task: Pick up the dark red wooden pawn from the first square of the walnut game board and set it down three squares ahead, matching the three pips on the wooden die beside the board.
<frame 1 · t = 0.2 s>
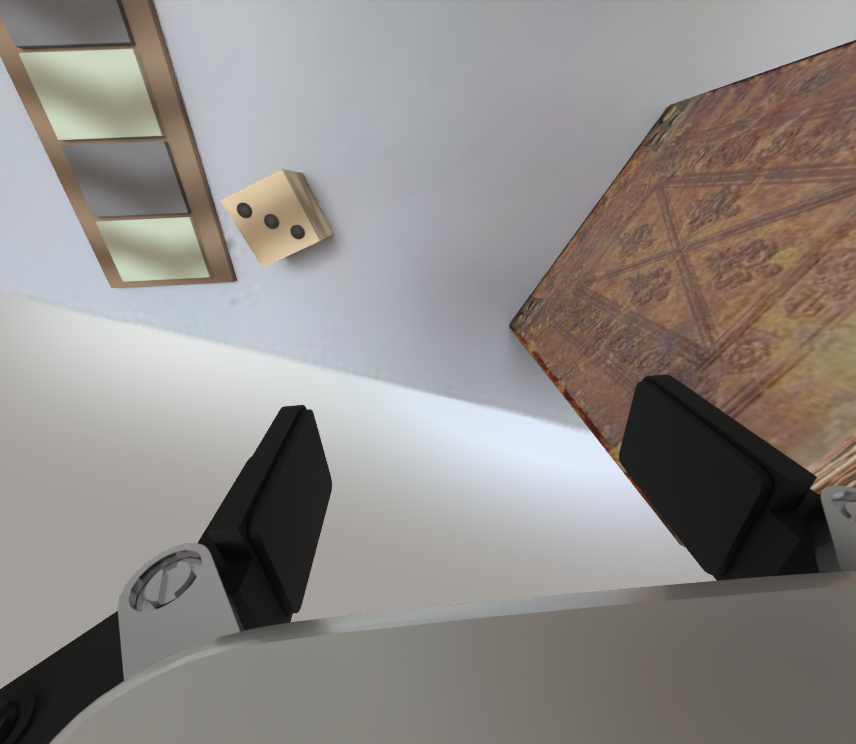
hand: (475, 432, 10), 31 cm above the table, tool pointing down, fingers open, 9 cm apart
book: (606, 251, 38), on the table
die: (292, 217, 35), on the table
board: (106, 100, 30), on the table
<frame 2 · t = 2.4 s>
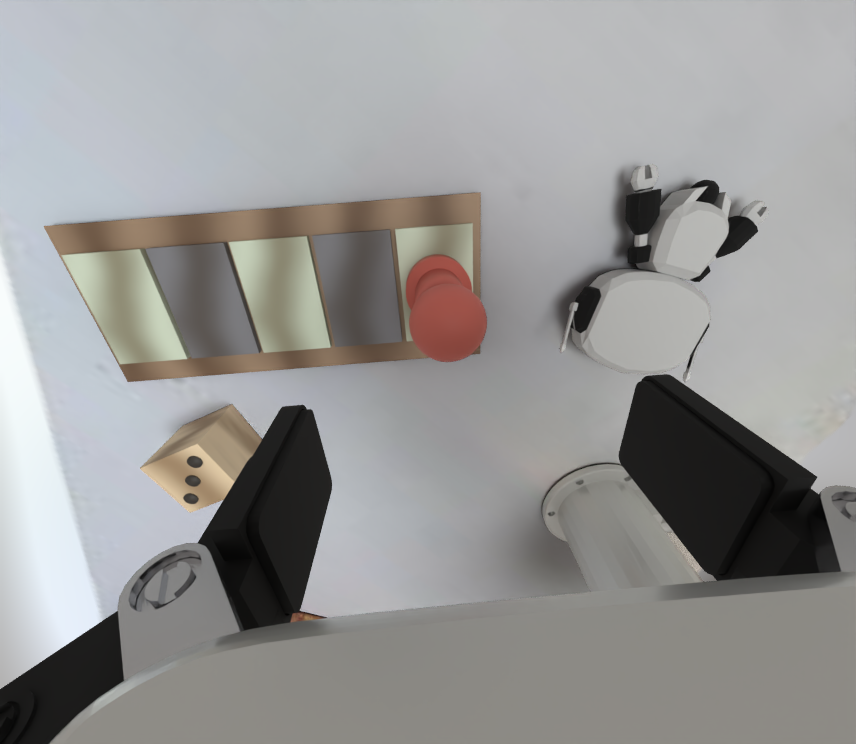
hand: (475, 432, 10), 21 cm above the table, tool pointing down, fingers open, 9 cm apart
pawn: (437, 286, 27), point 1 cm above the table, touching board
robot toy: (637, 277, 30), on the table
die: (226, 437, 35), on the table
board: (289, 294, 28), on the table
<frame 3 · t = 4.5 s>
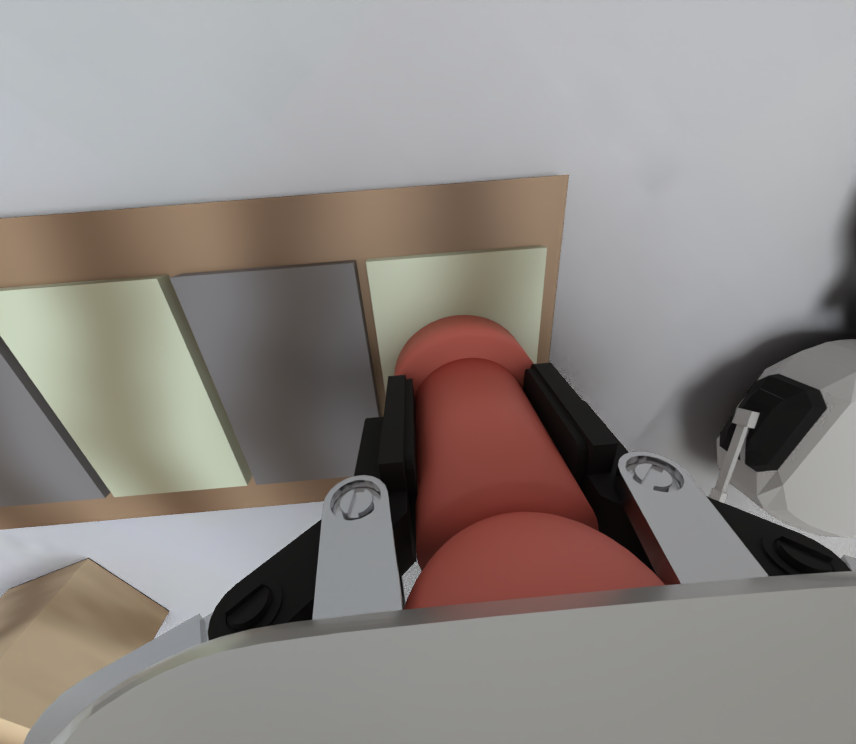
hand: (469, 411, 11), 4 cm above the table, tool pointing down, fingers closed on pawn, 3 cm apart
pawn: (460, 378, 13), point 1 cm above the table, touching board, gripper
robot toy: (843, 344, 15), on the table
die: (92, 601, 20), on the table
board: (156, 386, 14), on the table
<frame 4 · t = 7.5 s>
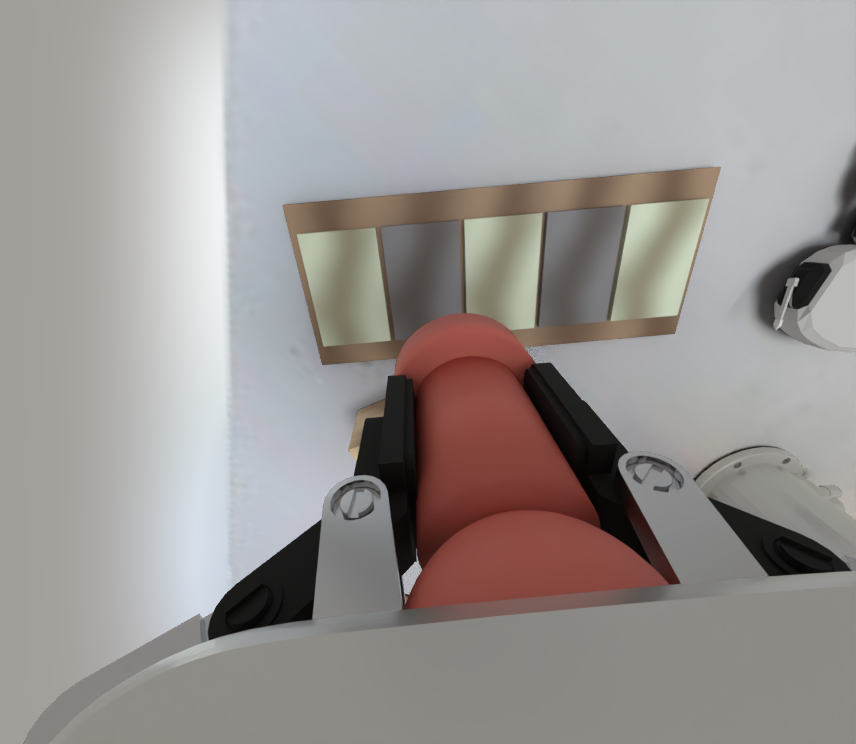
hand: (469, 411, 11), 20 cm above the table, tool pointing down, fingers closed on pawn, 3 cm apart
pawn: (460, 376, 13), point 17 cm above the table, touching gripper
robot toy: (840, 254, 29), on the table
die: (398, 421, 35), on the table
board: (498, 274, 28), on the table
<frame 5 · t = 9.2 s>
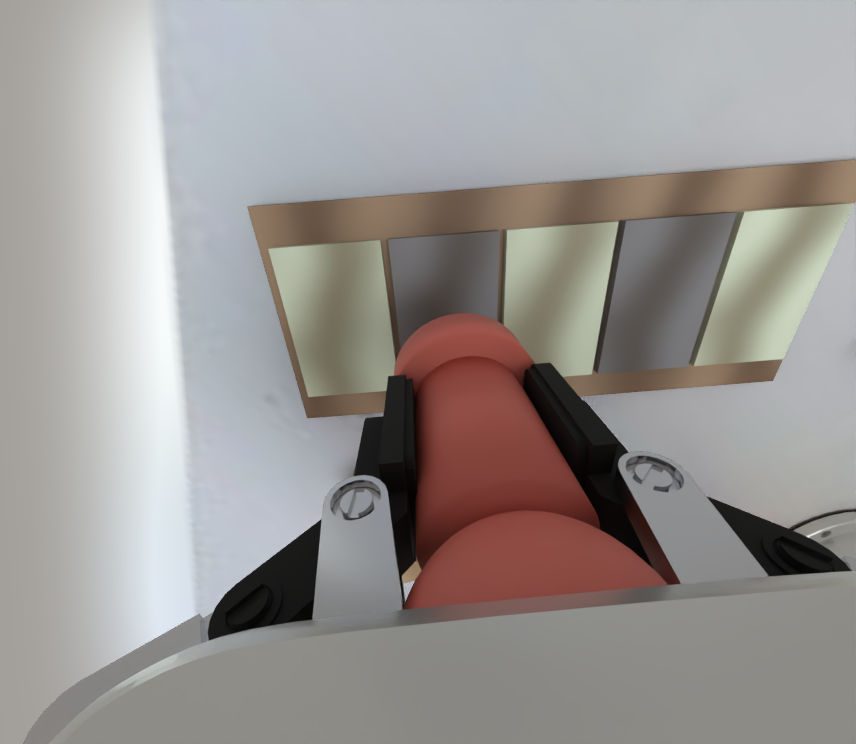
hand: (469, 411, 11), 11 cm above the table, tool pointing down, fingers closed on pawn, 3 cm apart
pawn: (460, 376, 13), point 9 cm above the table, touching gripper
board: (545, 303, 21), on the table
when the fingers open (5 cm above the table, at t = 10.6 s): pawn drops 2 cm, resting on board.
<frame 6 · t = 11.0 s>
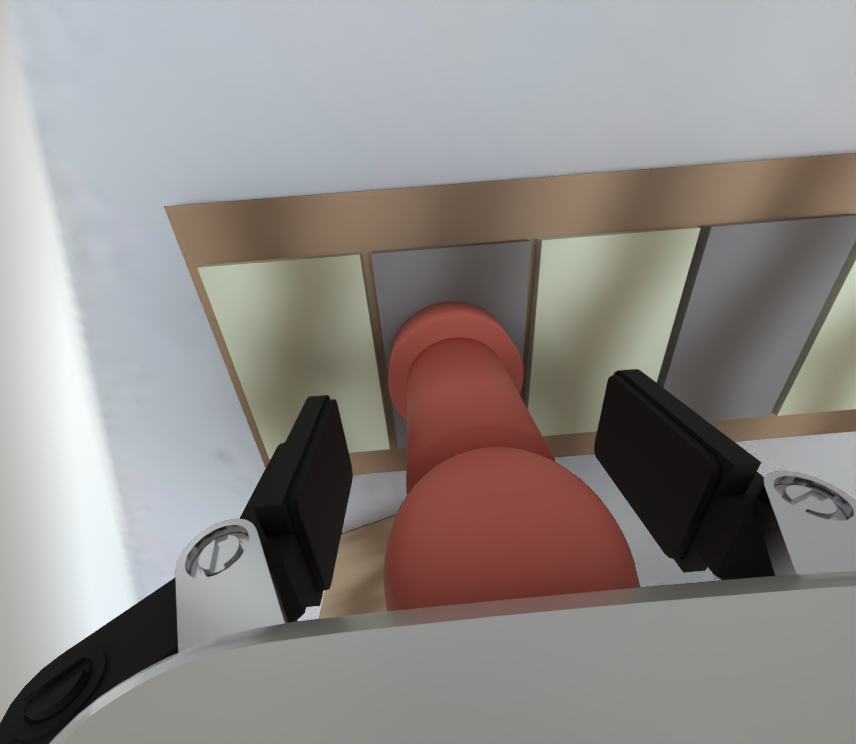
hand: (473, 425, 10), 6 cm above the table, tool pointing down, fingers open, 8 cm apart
pawn: (450, 359, 14), point 1 cm above the table, touching board
die: (400, 548, 22), on the table
board: (585, 335, 16), on the table
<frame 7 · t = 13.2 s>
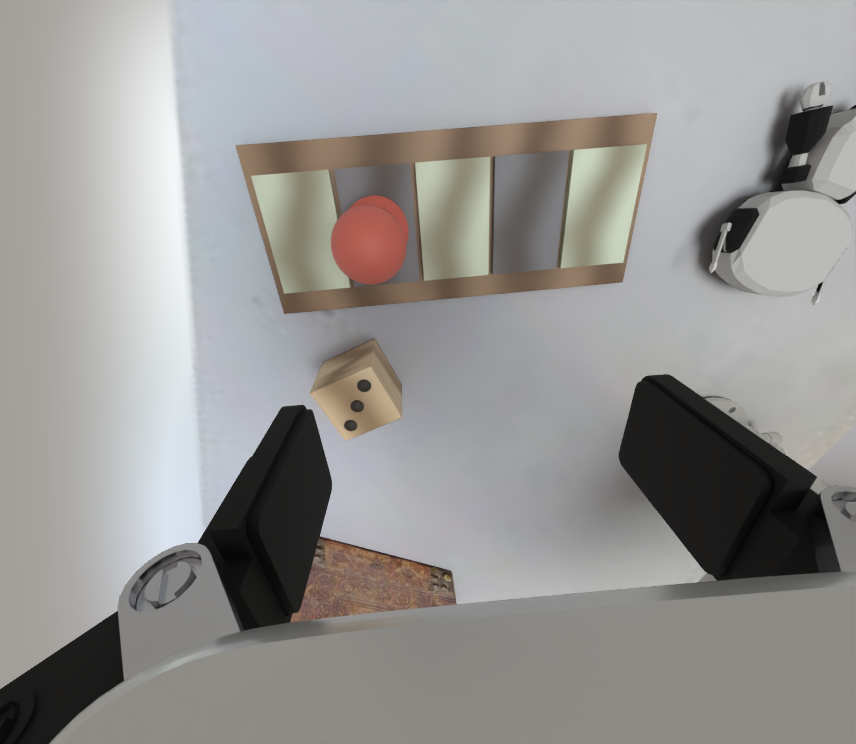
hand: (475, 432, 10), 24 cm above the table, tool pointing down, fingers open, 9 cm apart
pawn: (377, 229, 28), point 1 cm above the table, touching board
robot toy: (773, 204, 31), on the table
book: (367, 567, 52), on the table
die: (363, 373, 36), on the table
board: (452, 221, 29), on the table
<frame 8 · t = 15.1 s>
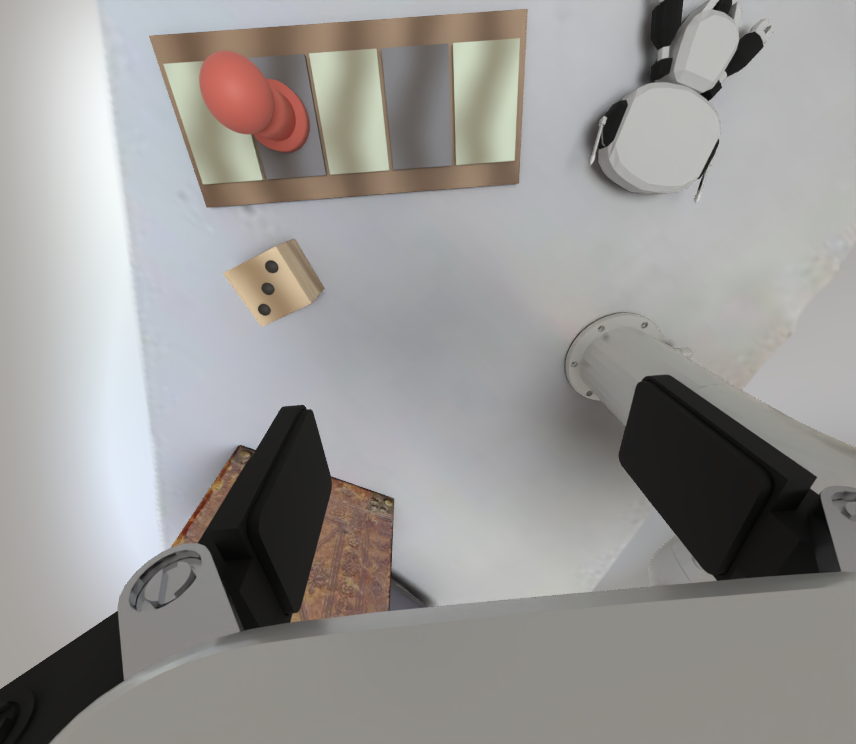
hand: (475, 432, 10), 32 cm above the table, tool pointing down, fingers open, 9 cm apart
pawn: (281, 120, 31), point 1 cm above the table, touching board
robot toy: (656, 109, 34), on the table
book: (312, 490, 55), on the table
die: (287, 275, 39), on the table
board: (353, 118, 32), on the table
bluetooth speaker: (387, 581, 67), on the table
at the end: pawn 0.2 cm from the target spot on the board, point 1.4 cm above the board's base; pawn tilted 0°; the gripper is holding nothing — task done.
